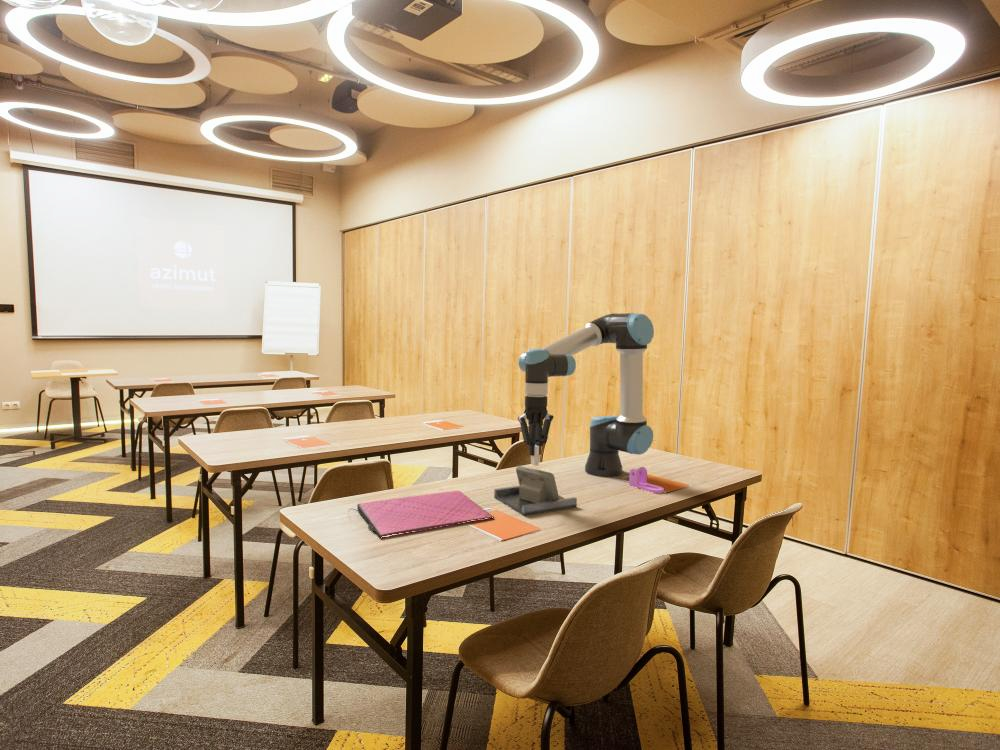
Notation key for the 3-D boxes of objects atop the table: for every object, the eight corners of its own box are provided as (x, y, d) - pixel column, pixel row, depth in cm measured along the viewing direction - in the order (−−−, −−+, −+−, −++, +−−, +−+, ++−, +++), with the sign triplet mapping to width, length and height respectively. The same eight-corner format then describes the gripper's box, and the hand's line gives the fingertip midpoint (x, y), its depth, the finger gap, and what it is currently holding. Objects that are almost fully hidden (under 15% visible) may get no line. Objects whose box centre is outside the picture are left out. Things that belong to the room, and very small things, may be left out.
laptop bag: (459, 485, 198) (494, 510, 175) (459, 496, 199) (494, 523, 175) (344, 500, 180) (366, 530, 156) (344, 512, 180) (366, 544, 156)
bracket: (629, 486, 212) (629, 468, 212) (639, 483, 216) (639, 466, 215) (656, 494, 202) (657, 475, 201) (666, 492, 205) (667, 473, 204)
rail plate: (543, 490, 206) (543, 482, 205) (576, 507, 187) (576, 498, 187) (494, 497, 196) (494, 489, 196) (524, 516, 178) (524, 506, 178)
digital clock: (561, 503, 188) (562, 471, 187) (541, 508, 183) (541, 476, 182) (531, 491, 201) (531, 461, 200) (511, 495, 196) (511, 465, 195)
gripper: (546, 393, 195) (545, 460, 197) (513, 394, 189) (512, 464, 191) (558, 395, 188) (557, 465, 190) (524, 397, 182) (523, 469, 184)
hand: (534, 464), depth 190 cm, fingers closed
